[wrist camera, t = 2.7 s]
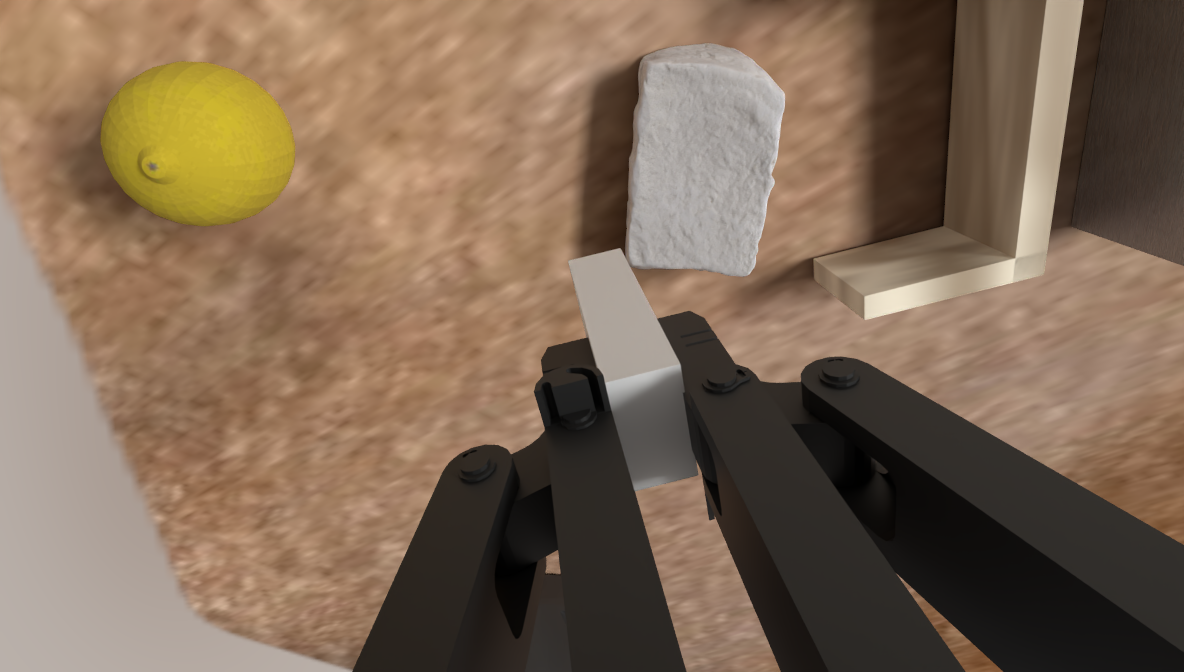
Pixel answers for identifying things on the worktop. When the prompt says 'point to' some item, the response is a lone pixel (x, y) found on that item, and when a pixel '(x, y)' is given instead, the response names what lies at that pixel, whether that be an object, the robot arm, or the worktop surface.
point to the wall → (1137, 131)
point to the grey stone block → (701, 160)
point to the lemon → (198, 143)
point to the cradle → (981, 165)
